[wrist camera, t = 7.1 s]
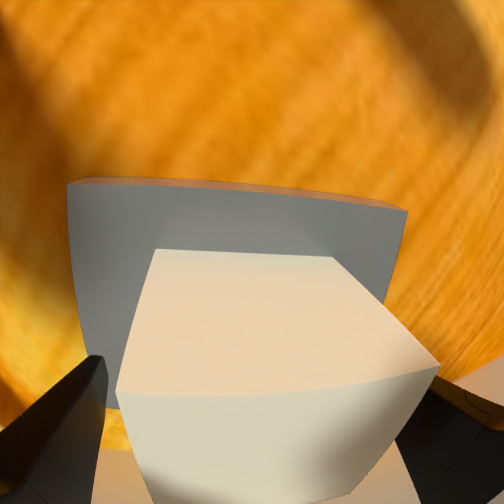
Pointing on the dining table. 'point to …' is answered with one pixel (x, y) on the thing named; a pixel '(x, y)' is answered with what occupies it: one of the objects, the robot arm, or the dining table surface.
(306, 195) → the plate
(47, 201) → the dining table surface
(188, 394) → the cube
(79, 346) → the dining table surface
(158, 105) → the dining table surface
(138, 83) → the dining table surface
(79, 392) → the robot arm
